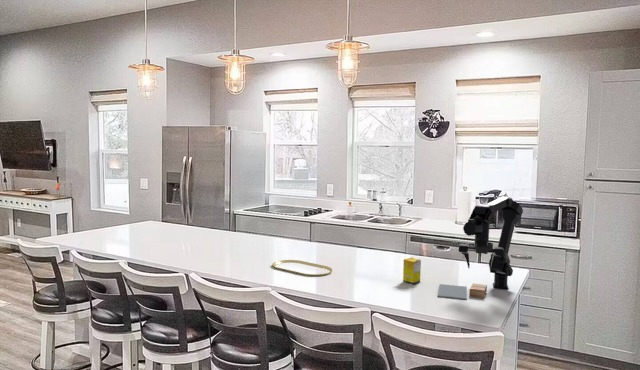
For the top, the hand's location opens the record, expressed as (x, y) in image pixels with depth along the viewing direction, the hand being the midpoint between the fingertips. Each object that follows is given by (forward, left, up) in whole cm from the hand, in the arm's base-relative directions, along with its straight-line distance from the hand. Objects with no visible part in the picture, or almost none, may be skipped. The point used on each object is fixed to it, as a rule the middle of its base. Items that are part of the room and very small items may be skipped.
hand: (479, 269), depth 206 cm
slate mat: (+1, -11, -11) cm, 16 cm away
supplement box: (-9, -30, -11) cm, 34 cm away
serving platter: (-14, -87, -12) cm, 89 cm away
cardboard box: (0, 0, -12) cm, 12 cm away
